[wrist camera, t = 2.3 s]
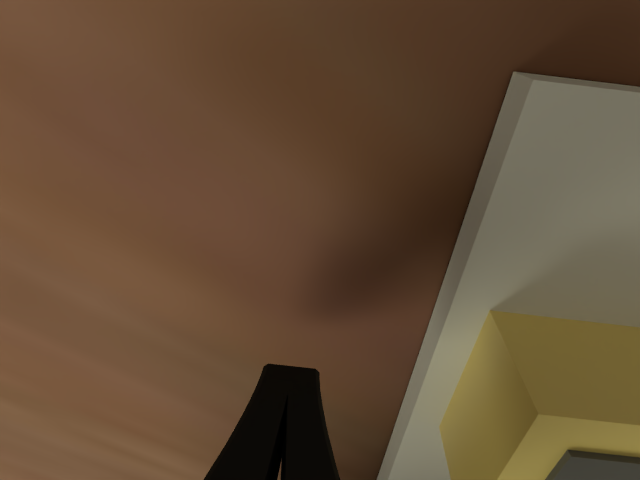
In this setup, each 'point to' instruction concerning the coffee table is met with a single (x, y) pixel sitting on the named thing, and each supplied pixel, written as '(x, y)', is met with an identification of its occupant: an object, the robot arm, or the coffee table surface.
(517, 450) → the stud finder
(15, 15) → the coffee table surface
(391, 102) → the coffee table surface
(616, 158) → the subfloor board
